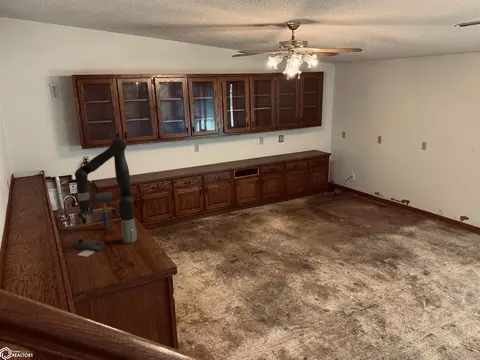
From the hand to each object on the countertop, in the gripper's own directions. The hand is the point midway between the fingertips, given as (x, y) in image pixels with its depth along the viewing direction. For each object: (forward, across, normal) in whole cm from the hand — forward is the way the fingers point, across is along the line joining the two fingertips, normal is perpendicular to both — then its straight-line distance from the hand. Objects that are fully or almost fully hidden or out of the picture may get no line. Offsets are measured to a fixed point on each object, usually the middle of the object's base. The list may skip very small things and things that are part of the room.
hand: (86, 222), depth 252 cm
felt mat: (+19, -8, -4) cm, 21 cm away
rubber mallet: (+19, +33, +11) cm, 40 cm away
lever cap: (0, 0, 0) cm, 0 cm away
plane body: (+19, +1, 0) cm, 19 cm away
